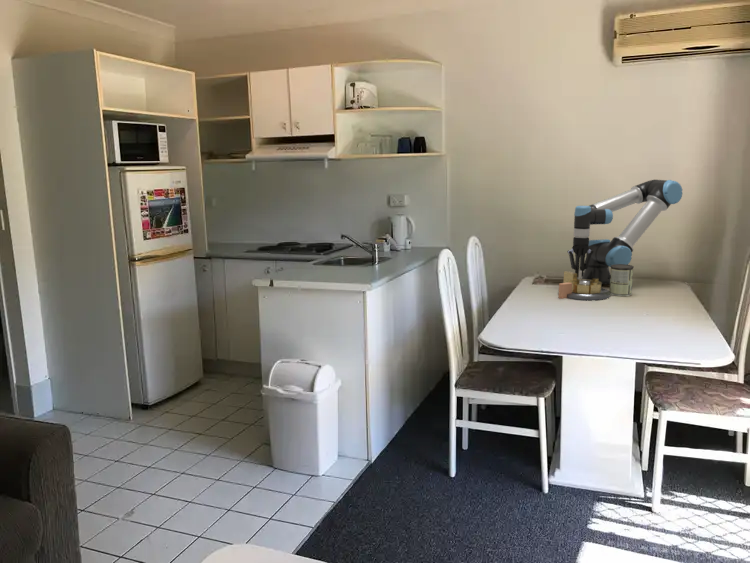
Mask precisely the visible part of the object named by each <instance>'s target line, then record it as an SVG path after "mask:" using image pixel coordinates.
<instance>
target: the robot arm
mask: <svg viewBox="0 0 750 563" xmlns="http://www.w3.org/2000/svg"><path fill="white" fill-rule="evenodd" d="M682 197H683V188H682V185H681V183H679V182H678V181H676V180H672V179H668V180H667V179H666V180H665V179H650V180H647V181H643V182H642V183H639V184H637V185H634V186H631V187H630V189H629V190H627V191H624V192H621V193H619V194H616V195H613V196H611V197H610V196H609V197H608V198H606V199H605V198H604V199H603V200H600V201H598V202H595V203H592V204H589V205H577V206H575V208H574V218H573V219H574V220H573V221H574V222H573V237H572V247H571V249H569V250H567V254H568V257H569V261H570V266H571V267H570V268H571V269H572V270H574V273H577V279H588V280H593V278H597V279H599V282H602V284H605V285H610V279H611V270H610V268H611V265H614V264H626V265H630V263H631V261H632V258H633V257H632V256H633V252H634V245H635V244H637V242H638V240H640V238H641V237H642V236H643V235H644V234H645V232H646V231H647V230H648V228H649V227H650V226H651V225H652V224H653V223H654V221H655V220H656V219H657V217H658V216H659V215H660V213H661V212H663V211H667V209H669V207H670V206H672V205H675V204H678V203H679V202H680V201H681V199H682ZM643 203H644V204H643ZM634 204H637V205H639V204H643V206H642V207H641V208H640V210H639V211H638V212H637V213H636V215H635V216H634V217H633V218H632V219H631V220H630V222H629V223H628V224H627V225H626V227H625V228H624V229H623V230H622V232H621V233H620V234H619V236H614V237H613V238H612V240H610V239H607V238H605V239H603V238H602V239H590V238H589V237H590V231H591V228H590V227H591V226H592V225H609V224H611V223H612V221H613V218H614V213H613V212H616V211H618V210H621V209H623V208H626V207H629V206H632V205H634ZM574 254H575V255H574Z"/></svg>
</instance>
